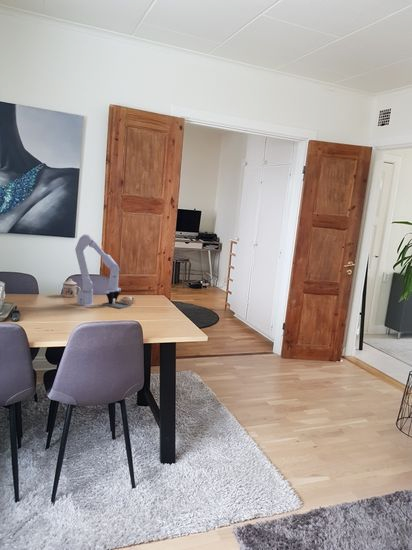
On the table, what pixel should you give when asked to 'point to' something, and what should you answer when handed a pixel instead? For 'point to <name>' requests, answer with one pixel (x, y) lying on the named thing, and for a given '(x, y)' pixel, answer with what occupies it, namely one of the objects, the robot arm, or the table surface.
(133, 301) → the bowl
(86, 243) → the robot arm
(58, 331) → the table surface
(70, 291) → the teacup with lid
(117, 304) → the parts tray
